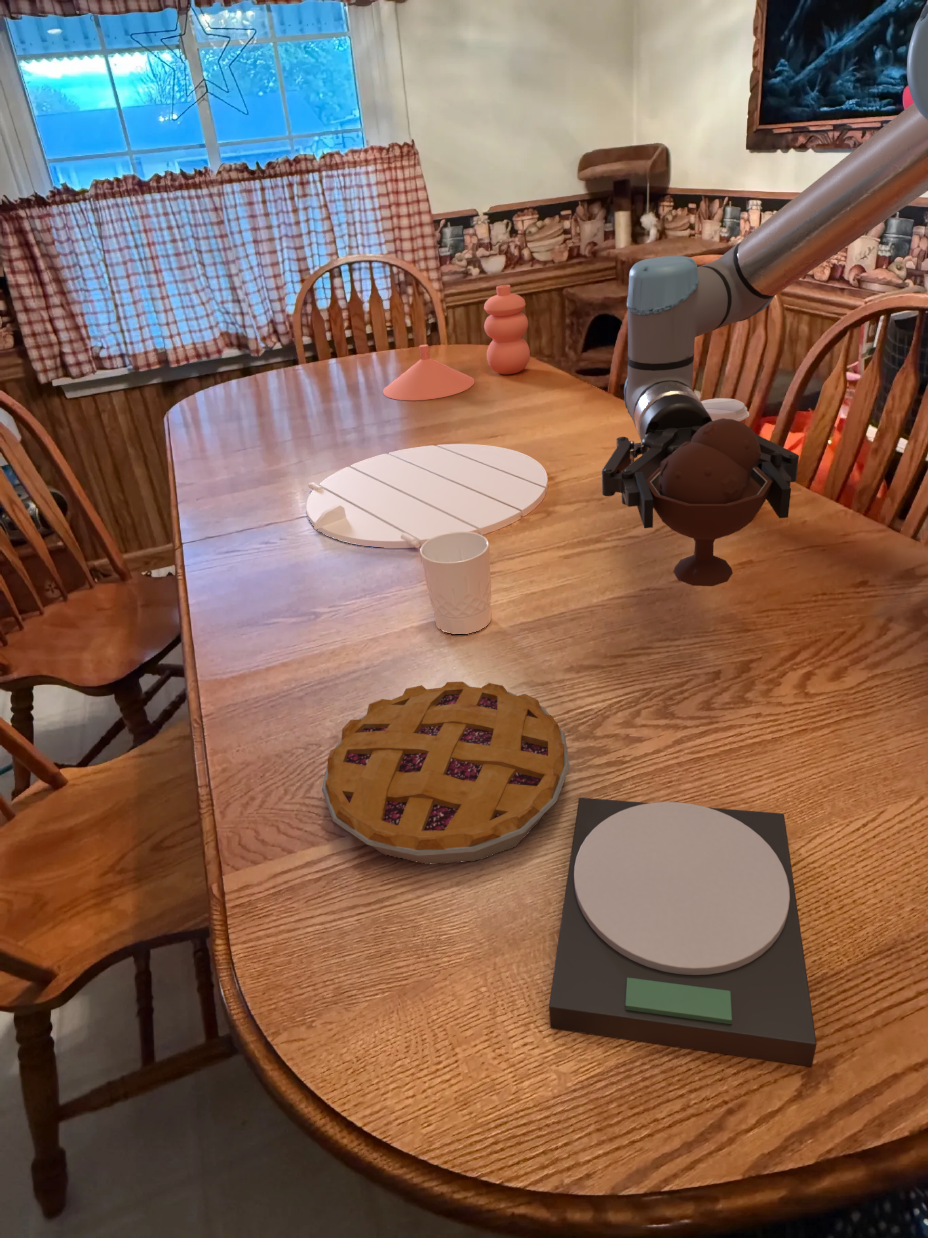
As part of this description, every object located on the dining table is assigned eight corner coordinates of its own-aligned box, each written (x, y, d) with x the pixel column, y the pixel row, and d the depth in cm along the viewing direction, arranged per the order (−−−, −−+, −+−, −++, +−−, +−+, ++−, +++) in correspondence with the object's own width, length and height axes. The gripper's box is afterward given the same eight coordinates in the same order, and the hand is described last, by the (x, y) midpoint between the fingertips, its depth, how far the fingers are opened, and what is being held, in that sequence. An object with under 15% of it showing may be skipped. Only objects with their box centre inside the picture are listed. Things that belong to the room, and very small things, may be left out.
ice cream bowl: (688, 537, 86) (694, 395, 78) (785, 569, 78) (803, 415, 70) (621, 575, 80) (621, 427, 73) (719, 614, 73) (730, 453, 65)
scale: (781, 835, 65) (785, 805, 64) (812, 1067, 50) (818, 1037, 48) (579, 817, 69) (578, 789, 68) (550, 1029, 54) (547, 999, 52)
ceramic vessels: (392, 406, 177) (378, 315, 167) (376, 382, 195) (362, 299, 185) (545, 378, 183) (540, 289, 173) (516, 358, 201) (510, 276, 191)
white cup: (482, 642, 94) (474, 565, 89) (420, 634, 97) (408, 559, 92) (505, 607, 100) (498, 533, 95) (446, 601, 103) (436, 529, 98)
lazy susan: (382, 578, 110) (378, 555, 108) (263, 501, 138) (258, 481, 136) (599, 486, 128) (599, 466, 126) (454, 435, 156) (452, 417, 155)
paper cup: (685, 509, 118) (688, 414, 111) (689, 488, 124) (692, 397, 117) (742, 511, 116) (749, 414, 108) (743, 489, 122) (750, 396, 114)
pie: (294, 872, 67) (281, 829, 65) (367, 708, 86) (359, 669, 83) (560, 892, 63) (557, 846, 60) (578, 714, 81) (577, 673, 78)
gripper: (779, 450, 91) (849, 537, 72) (567, 467, 93) (582, 556, 75) (786, 382, 87) (861, 456, 69) (565, 402, 89) (580, 479, 71)
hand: (716, 508), depth 72 cm, fingers closed on ice cream bowl, 11 cm apart
